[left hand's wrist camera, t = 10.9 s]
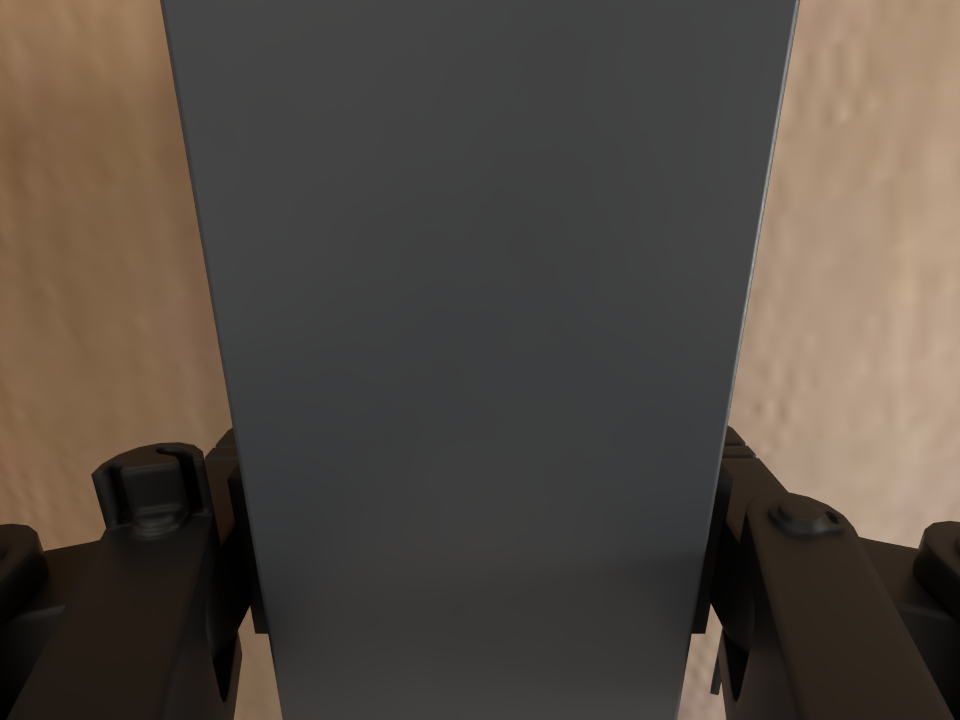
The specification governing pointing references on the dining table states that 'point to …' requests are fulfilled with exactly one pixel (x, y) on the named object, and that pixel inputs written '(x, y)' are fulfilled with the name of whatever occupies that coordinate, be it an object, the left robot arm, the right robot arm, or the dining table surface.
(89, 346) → the dining table surface
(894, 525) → the dining table surface
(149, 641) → the left robot arm
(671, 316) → the post
